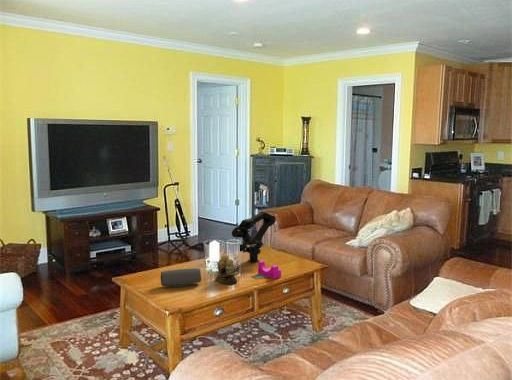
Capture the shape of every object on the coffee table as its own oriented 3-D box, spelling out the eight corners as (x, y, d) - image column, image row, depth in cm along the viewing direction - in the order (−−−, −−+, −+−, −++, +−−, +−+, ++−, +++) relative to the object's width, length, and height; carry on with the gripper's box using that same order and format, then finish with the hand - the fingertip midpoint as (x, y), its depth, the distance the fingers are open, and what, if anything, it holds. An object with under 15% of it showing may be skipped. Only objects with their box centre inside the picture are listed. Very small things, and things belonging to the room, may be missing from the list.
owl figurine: (242, 283, 273) (242, 256, 271) (226, 287, 266) (226, 259, 264) (227, 275, 287) (227, 249, 285) (211, 278, 281) (211, 252, 278)
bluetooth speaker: (197, 281, 275) (197, 265, 274) (201, 286, 267) (201, 269, 265) (160, 285, 267) (160, 268, 266) (162, 290, 259) (162, 273, 258)
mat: (251, 276, 287) (251, 275, 287) (272, 272, 295) (272, 272, 295) (256, 279, 281) (256, 278, 281) (277, 275, 289) (277, 275, 289)
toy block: (281, 276, 285) (281, 265, 284) (273, 278, 281) (274, 267, 280) (265, 271, 296) (265, 260, 295) (258, 273, 292) (258, 261, 291)
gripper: (253, 242, 320) (260, 261, 313) (230, 245, 310) (237, 265, 303) (259, 233, 312) (267, 253, 305) (236, 237, 302) (244, 257, 295)
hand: (254, 257), depth 302 cm, fingers closed
